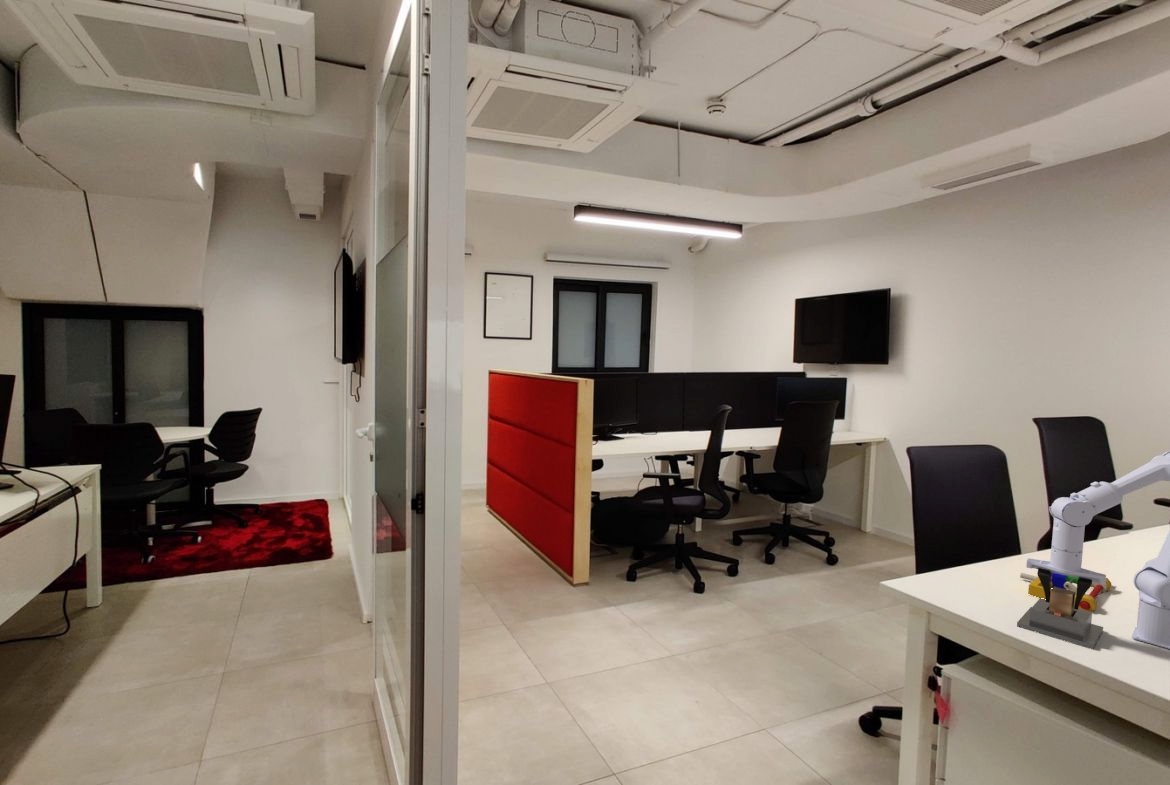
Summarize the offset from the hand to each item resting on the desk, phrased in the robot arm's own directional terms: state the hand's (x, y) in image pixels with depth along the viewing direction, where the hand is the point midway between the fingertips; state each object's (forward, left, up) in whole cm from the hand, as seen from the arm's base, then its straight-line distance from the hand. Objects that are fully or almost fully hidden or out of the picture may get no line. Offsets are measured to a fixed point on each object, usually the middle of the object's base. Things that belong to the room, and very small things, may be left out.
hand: (1061, 604), depth 140 cm
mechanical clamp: (+5, -33, -7) cm, 34 cm away
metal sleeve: (0, 0, -6) cm, 6 cm away
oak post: (0, 0, -5) cm, 5 cm away
